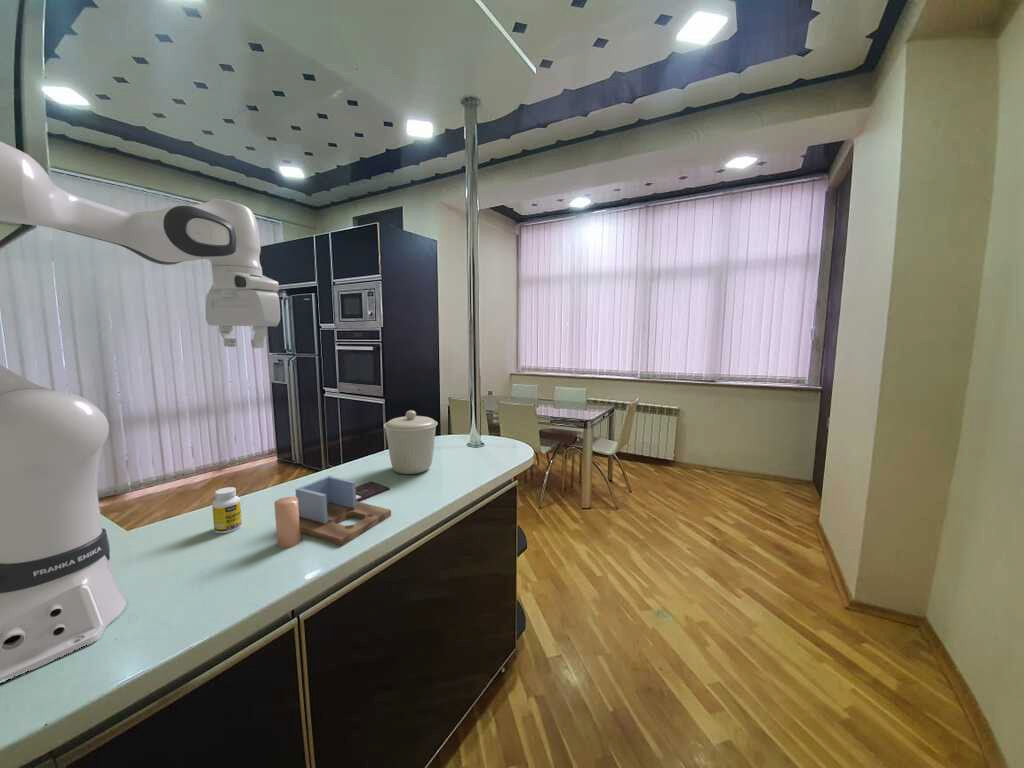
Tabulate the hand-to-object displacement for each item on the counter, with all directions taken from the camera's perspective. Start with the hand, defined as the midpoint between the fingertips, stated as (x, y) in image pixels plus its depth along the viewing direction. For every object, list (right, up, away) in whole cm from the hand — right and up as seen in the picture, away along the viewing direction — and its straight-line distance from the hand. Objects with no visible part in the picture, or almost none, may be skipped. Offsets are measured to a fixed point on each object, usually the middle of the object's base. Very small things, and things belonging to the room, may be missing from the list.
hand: (243, 347), depth 84 cm
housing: (+11, -41, +15) cm, 45 cm away
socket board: (+15, -43, +13) cm, 47 cm away
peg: (+8, -44, +3) cm, 45 cm away
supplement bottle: (-10, -44, +9) cm, 46 cm away
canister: (+24, -38, +51) cm, 68 cm away
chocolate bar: (+13, -42, +28) cm, 52 cm away
